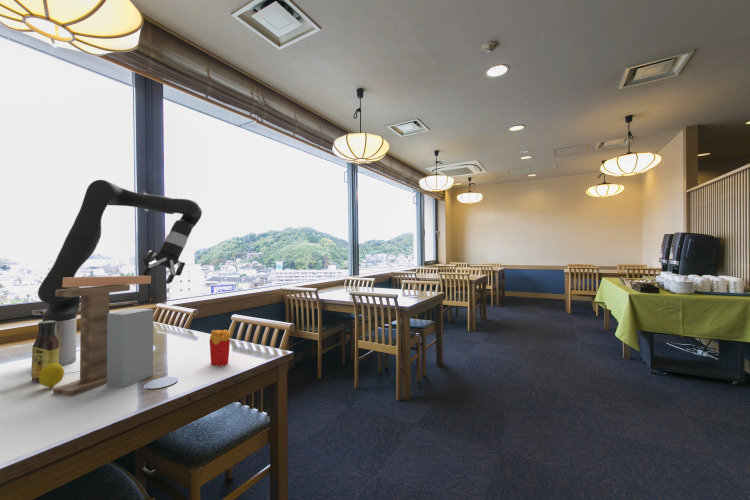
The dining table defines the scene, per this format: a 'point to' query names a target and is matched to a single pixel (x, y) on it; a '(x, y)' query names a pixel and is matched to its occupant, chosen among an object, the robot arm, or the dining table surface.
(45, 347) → the sauce bottle
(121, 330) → the grey rectangular block
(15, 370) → the dining table surface
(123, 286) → the walnut shelf
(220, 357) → the french fries
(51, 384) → the lemon
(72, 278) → the terracotta bar
